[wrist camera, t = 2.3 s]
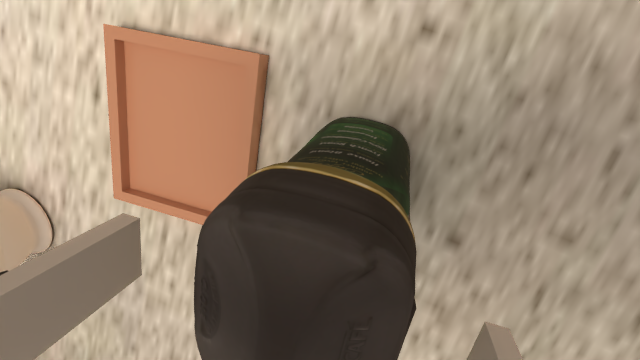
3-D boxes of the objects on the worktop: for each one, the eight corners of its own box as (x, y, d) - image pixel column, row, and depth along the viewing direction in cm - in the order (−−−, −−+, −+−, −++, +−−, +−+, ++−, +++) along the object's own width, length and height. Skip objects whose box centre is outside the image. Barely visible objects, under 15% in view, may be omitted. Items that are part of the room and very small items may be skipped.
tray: (269, 55, 25) (259, 54, 24) (249, 227, 31) (241, 236, 29) (121, 27, 27) (103, 23, 26) (128, 191, 33) (113, 197, 31)
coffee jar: (321, 107, 25) (159, 171, 8) (419, 128, 24) (465, 254, 7) (303, 213, 29) (161, 411, 12) (388, 236, 28) (368, 498, 10)
